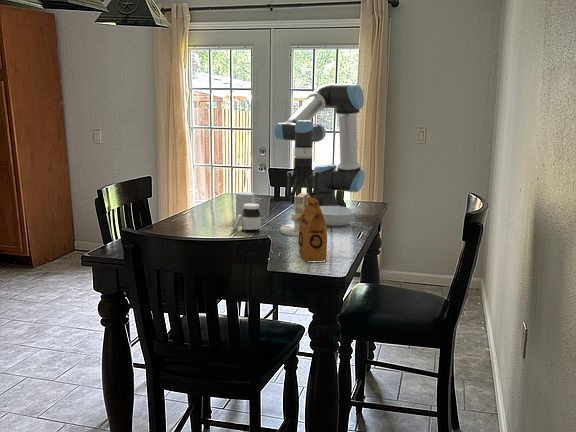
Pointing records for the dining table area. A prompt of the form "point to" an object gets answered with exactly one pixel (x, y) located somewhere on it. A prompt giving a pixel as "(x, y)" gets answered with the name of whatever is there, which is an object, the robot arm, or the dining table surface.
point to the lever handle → (299, 206)
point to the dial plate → (291, 229)
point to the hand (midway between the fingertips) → (301, 210)
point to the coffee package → (312, 232)
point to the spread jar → (249, 218)
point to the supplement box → (243, 201)
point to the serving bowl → (337, 215)
